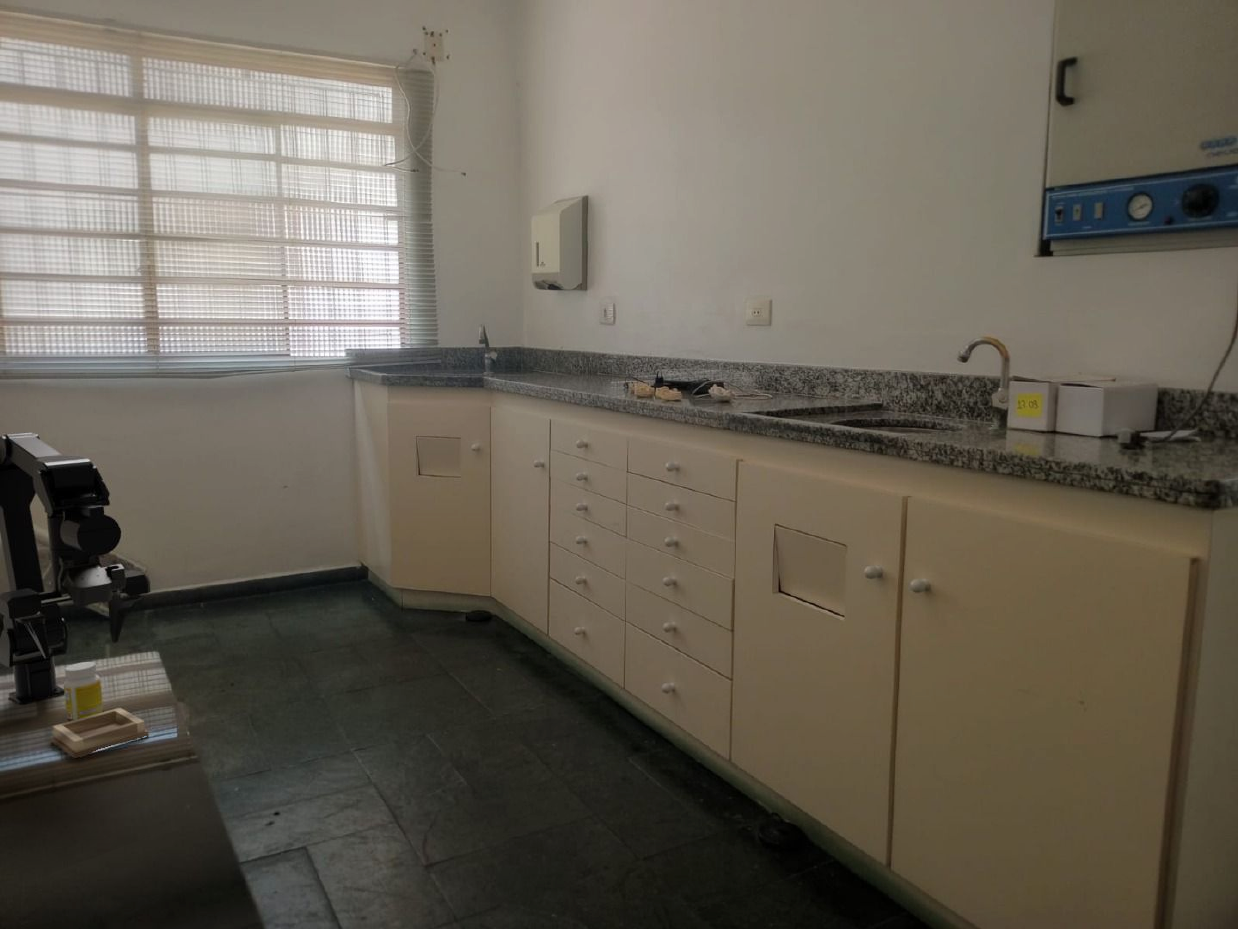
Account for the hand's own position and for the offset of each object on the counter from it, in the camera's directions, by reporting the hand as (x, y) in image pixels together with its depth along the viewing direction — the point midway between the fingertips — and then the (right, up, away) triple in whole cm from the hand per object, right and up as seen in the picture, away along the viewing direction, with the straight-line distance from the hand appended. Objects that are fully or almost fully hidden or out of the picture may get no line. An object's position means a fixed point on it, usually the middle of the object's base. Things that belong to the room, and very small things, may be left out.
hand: (81, 650), depth 140 cm
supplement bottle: (-1, -11, +3) cm, 12 cm away
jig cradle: (+5, -12, -5) cm, 14 cm away
